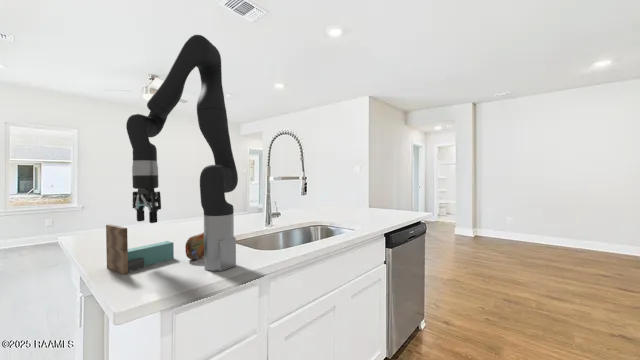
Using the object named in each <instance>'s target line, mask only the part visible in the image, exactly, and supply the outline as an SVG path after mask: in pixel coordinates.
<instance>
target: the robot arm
mask: <svg viewBox="0 0 640 360" xmlns="http://www.w3.org/2000/svg"><path fill="white" fill-rule="evenodd" d="M195 68H197V69H198V73H199V77H200V82H201V83H200V84H201V88H200V94H199V95H198V99H197V101H196V115H197V116H196V117H197V122H198V128H199V129H200V132H201V135H202V136H203V138H204V140H205V141H206V143H207V144H208V146H209V148H210V150H211V152H212V155H213V160H214V164H209V165H206V166H204V168H203V169H202V170H201V172H200V176H199V195H200V204H201V208H202V210H203V233H204V257H203V258H204V259H203V260H204V261H203V262H204V263H203V264H204V270H207V271H212V272H213V271H214V272H215V271H218V272H222V271H225V270H228V269H231V268H234V267H236V266H237V246H236V245H237V238H236V237H235V231H234V230H235V229H234V228H235V227H234V226H235V225H234V222H235V221H234V220H235V219H234V216H235V215H234V210H235V209H234V205H233V204H232V203H229V202H228V201H227V200H226V193H231V192H233V191H234V190H236V188H237V186H238V182H239V176H238V169H237V165H236V162H235V157H234V155H233V150H232V143H231V137H230V132H229V123H228V122H229V121H228V116H227V115H228V114H227V107H226V102H225V95H224V87H223V81H222V80H223V77H222V75H223V73H222V58H221V54H220V50H218V48H217V47H216V46H215V45H214V44H213V43H212V42H211V41H210V40H209V39H208V38H206V37H205V36H204V35H201V34H193V35H191V36H190V37H189V38H187V39H186V41H185V42H184V44H183V45H182V47H181V48H180V51H179V53H178V54H177V56H176V59H174V62H173V64H172V66H171V68H170V70H169V71H168V73H167V75H166V76H165V78H164V80H163V82H161V84H160V86H159V87H158V89H157V90H156V91H155V92H154V94H152V96H151V97H150V99H149V100H148V102H147V103H146V106H147V109H148V110H149V114H148V115H144V114H141V113H133V114H131V115H130V116H129V117H128V118H127V120H126V125H125V126H126V132H127V137H128V138H129V143H130V144H131V148H132V166H131V169H132V170H131V172H132V176H131V177H132V178H131V179H132V188H133V189H134V191H132V209H134V210H135V211H136V222H144V221H145V207H147V209H148V211H149V212H148V217H149V220H148V221H149V223H150V224H155V223H157V222H158V212H159V210H162V198H161V191H155V189H157V188H159V185H160V184H159V165H158V155H157V154H158V151H157V150H158V149H157V147H156V145H154V144H153V143H152V142H150V138H155V137H157V136H158V135H159V134H160V133H161V132H162V130H163V128H164V126H165V123H166V121H167V119H168V116H169V115H170V113H171V112H172V111H173V109H175V107H176V106H177V105H178V104H179V102H180V100H181V98H182V96H183V92H184V88H185V85H186V81H187V79H188V77H189V75H190V74H191V73H192V71H193V70H194V69H195Z"/></svg>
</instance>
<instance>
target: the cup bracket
mask: <svg viewBox="0 0 640 360" xmlns="http://www.w3.org/2000/svg"><path fill="white" fill-rule="evenodd" d="M105 233H106V234H105V238H106V243H105V244H106V248H105V249H106V268H107V269H109V270H111V271H114V272H116V273H119V274H121V275H123V276H124V275H128V274H129V272H132V271H137V270H140V269H145V266H144V258H140V259H135V260H131V261H128V249H129V248H128V247H129V245H128V244H129V243H128V228H127V227H124V226H119V225H116V224H115V225H114V224H110V223H109V224H106V225H105Z"/></svg>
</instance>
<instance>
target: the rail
mask: <svg viewBox="0 0 640 360" xmlns="http://www.w3.org/2000/svg"><path fill="white" fill-rule="evenodd" d="M174 247H175V246H174V242H173V241H169V240H166V241H161V242H160V241H159V242H157V243H151V244H146V245H142V246H137V247H132V248H131V247H130V248H128V261H131V260H135V259H140V258H144V267H145V266H149V265H153V264H157V263H161V262H164V261H168V260H169V261H170V260H174V258H175V256H174Z"/></svg>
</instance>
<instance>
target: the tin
mask: <svg viewBox="0 0 640 360" xmlns="http://www.w3.org/2000/svg"><path fill="white" fill-rule="evenodd" d="M185 256H186V258H188V259H189V260H196V261H198V260H200V259H202V258H204V232H201V233H198V234H196V235H193V236H190V237H188V239H187V241H186V242H185Z"/></svg>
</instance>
